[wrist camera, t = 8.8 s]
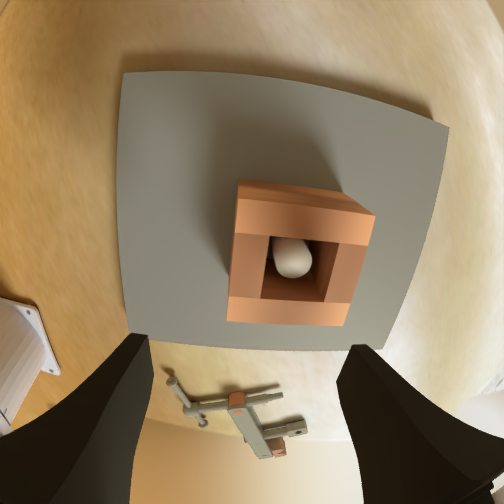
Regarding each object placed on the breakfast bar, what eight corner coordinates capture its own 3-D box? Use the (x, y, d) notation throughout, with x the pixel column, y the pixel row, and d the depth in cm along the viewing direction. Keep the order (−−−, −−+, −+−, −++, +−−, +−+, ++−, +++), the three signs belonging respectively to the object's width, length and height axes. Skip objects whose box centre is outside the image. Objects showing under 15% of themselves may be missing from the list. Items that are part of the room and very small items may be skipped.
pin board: (135, 323, 19) (117, 368, 15) (133, 77, 13) (97, 63, 9) (375, 336, 21) (397, 377, 17) (435, 125, 14) (482, 132, 10)
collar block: (228, 276, 16) (226, 321, 12) (238, 178, 14) (238, 198, 10) (322, 283, 17) (342, 326, 13) (343, 192, 14) (375, 215, 11)
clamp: (312, 450, 25) (224, 464, 26) (309, 435, 27) (224, 449, 28) (289, 368, 19) (161, 390, 20) (285, 347, 21) (165, 370, 22)
